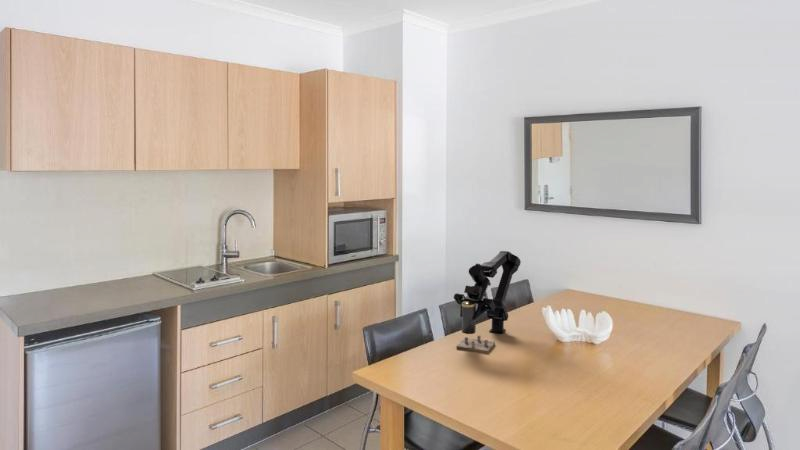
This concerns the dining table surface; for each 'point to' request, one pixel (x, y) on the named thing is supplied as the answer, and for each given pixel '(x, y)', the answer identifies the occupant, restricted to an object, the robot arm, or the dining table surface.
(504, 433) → the dining table surface
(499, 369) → the dining table surface
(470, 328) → the tea tin
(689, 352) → the dining table surface
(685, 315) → the dining table surface
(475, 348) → the peg board
